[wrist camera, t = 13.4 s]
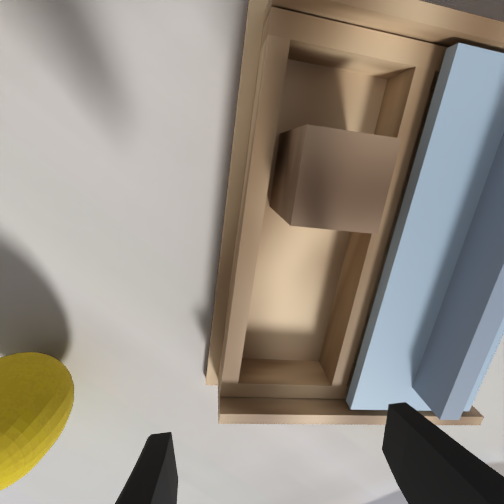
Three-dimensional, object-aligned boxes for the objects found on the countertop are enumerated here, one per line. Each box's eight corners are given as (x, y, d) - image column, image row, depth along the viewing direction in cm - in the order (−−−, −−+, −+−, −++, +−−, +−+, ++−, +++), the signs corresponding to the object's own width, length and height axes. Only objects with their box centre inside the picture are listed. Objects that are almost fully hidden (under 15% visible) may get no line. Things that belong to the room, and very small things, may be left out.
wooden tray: (559, 72, 18) (660, 47, 14) (437, 385, 24) (481, 430, 20) (248, 0, 15) (261, -58, 11) (205, 378, 21) (203, 430, 17)
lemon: (-16, 340, 18) (-178, 470, 11) (73, 316, 19) (-25, 427, 11) (27, 407, 20) (-86, 558, 13) (107, 384, 20) (44, 520, 13)
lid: (597, 83, 15) (693, 64, 12) (460, 402, 20) (502, 444, 17) (446, 48, 13) (512, 17, 10) (345, 400, 19) (369, 445, 16)
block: (279, 133, 16) (306, 124, 11) (348, 143, 17) (401, 138, 12) (269, 206, 17) (290, 225, 13) (334, 213, 18) (377, 234, 13)
